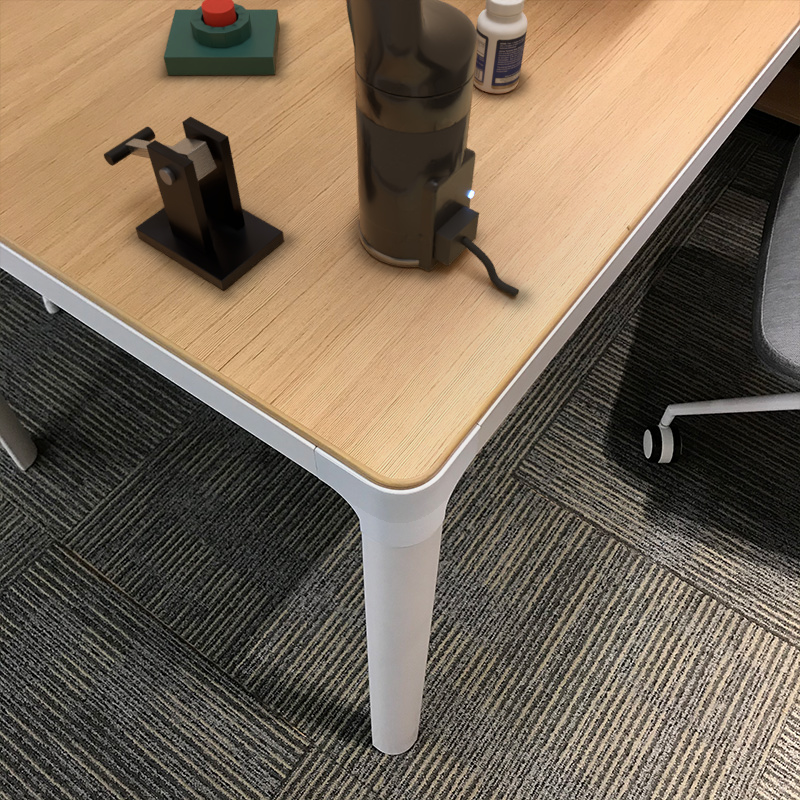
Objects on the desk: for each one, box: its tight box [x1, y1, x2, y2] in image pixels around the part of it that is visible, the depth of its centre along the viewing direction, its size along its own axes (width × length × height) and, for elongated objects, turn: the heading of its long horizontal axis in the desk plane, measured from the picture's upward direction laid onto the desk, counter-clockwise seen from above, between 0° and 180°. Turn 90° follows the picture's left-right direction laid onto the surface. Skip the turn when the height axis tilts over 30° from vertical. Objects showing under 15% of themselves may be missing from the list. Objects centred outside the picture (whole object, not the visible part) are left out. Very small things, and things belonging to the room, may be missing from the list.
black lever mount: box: [135, 116, 285, 291], centre depth 67 cm, size 11×8×11 cm
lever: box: [103, 126, 217, 181], centre depth 66 cm, size 11×5×2 cm, turn 53°
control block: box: [163, 2, 280, 76], centre depth 88 cm, size 12×10×4 cm
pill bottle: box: [474, 0, 529, 94], centre depth 83 cm, size 5×5×10 cm
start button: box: [200, 0, 236, 27], centre depth 86 cm, size 4×4×2 cm
